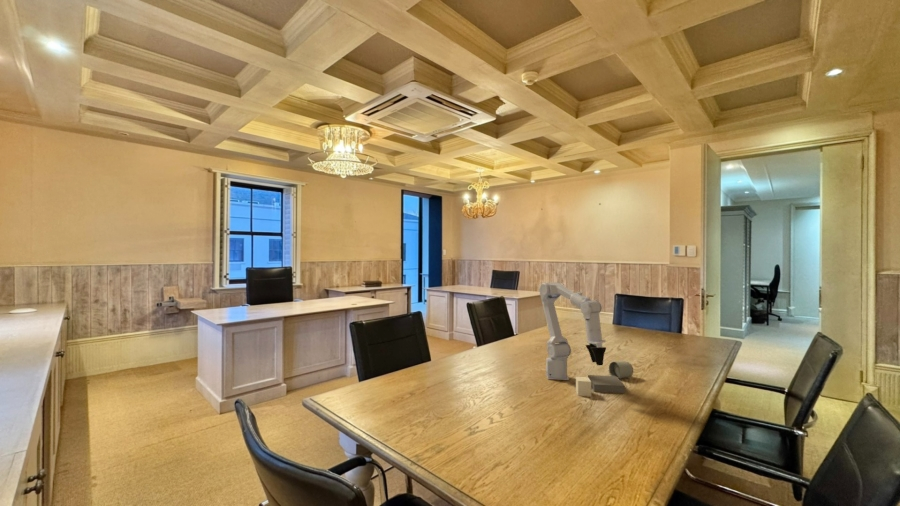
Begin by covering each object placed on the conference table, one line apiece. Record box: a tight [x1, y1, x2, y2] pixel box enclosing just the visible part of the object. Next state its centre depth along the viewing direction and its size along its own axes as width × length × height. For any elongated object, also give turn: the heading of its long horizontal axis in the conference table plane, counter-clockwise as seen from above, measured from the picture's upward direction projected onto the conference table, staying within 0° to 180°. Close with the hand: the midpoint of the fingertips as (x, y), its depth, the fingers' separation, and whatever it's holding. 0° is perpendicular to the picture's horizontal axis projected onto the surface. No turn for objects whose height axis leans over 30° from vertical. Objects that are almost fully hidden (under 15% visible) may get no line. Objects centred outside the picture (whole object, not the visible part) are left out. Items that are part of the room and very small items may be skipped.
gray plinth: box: [587, 374, 626, 394], centre depth 157 cm, size 12×12×3 cm
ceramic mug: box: [608, 360, 634, 380], centre depth 171 cm, size 11×8×8 cm
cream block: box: [575, 376, 592, 397], centre depth 150 cm, size 5×5×6 cm
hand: (597, 363), depth 149 cm, fingers open, 7 cm apart
